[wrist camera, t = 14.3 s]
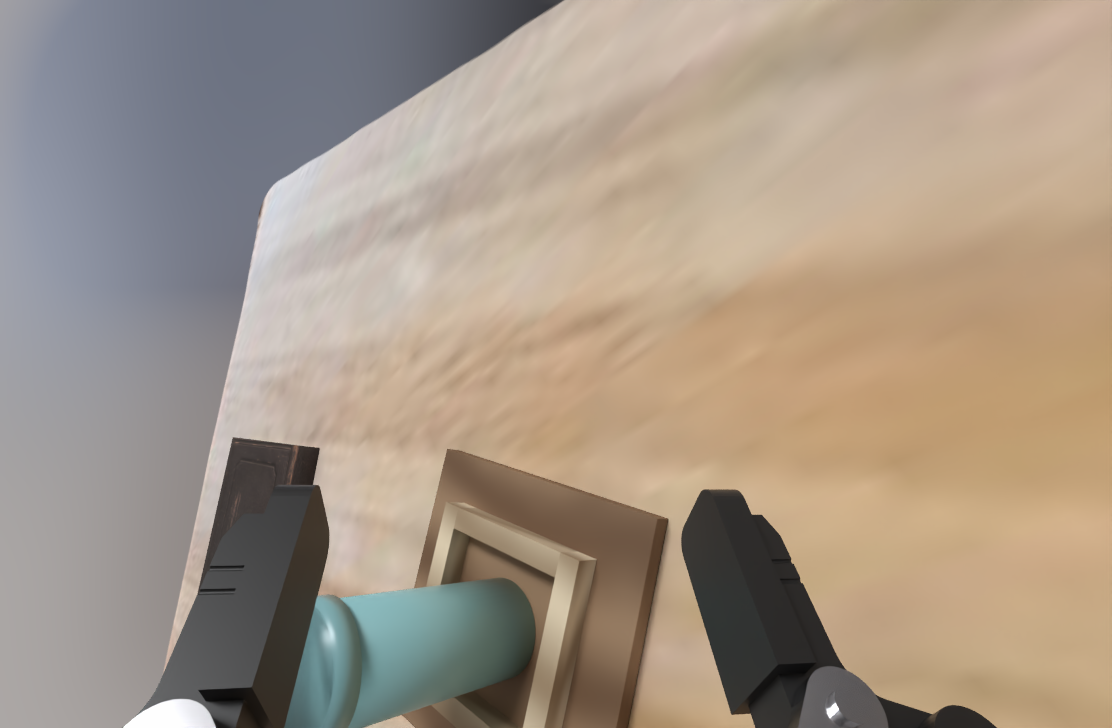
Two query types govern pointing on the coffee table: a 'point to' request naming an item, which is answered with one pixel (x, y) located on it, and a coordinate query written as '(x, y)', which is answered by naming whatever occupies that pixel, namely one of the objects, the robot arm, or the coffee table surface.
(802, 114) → the coffee table surface
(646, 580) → the collar base
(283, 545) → the robot arm
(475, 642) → the teal domed canister
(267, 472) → the hardcover book
